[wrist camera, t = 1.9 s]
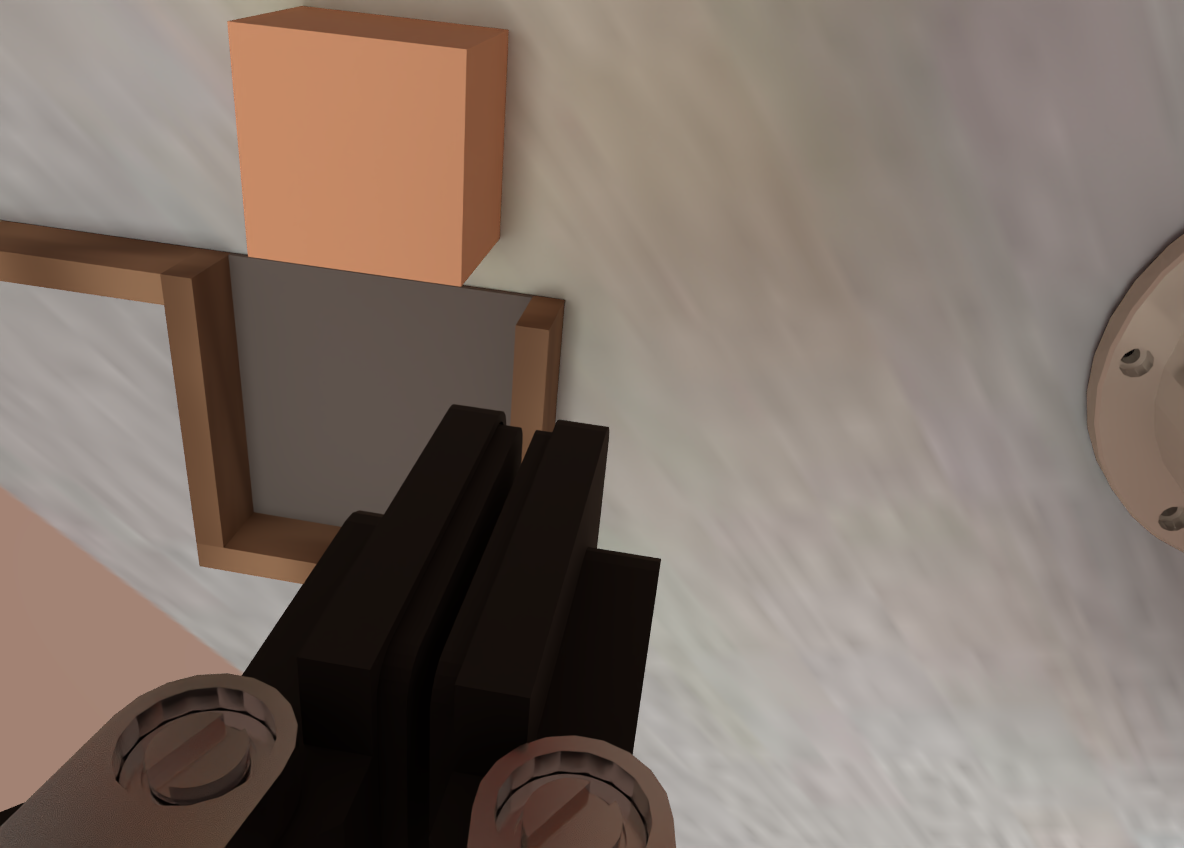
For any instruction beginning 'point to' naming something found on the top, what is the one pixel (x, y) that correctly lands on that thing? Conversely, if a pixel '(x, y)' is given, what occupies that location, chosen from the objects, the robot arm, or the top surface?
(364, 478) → the box
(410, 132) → the block
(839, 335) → the top surface
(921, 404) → the top surface
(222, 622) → the top surface
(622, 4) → the top surface
